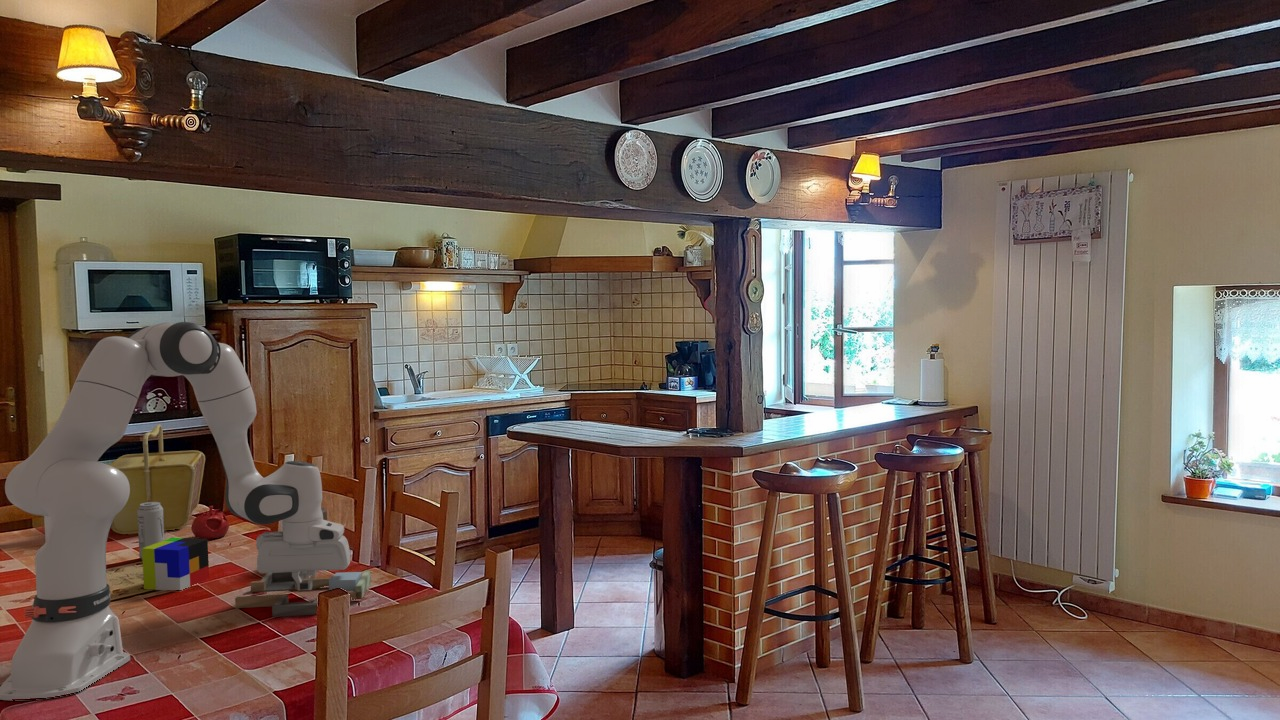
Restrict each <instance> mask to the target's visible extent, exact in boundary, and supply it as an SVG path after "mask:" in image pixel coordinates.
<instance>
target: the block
mask: <svg viewBox="0 0 1280 720" xmlns="http://www.w3.org/2000/svg"><path fill="white" fill-rule="evenodd" d="M362 575H363V572H362V571H347V572H345V571H344V572H335V573H334V574H333V576H331V577H332V578H331V579H330V580H329V588H328V591H329V590H332V589H335V588H342V589H344V590H346V591H354V590H356V585H357V583H358V582H359V580H360V578H361V576H362Z"/></svg>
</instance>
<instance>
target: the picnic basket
mask: <svg viewBox="0 0 1280 720" xmlns="http://www.w3.org/2000/svg"><path fill="white" fill-rule="evenodd" d="M163 433H164V432H163V426H162V424H156V425H155V426H154V428H153V429H152V430H151V431H147V432H146V433H144V434H143V436H142V437H143V438H142V448H143V452H142V453H131V454H128V453H127V454H124V455H122V456H119V457H118V458H117V459H115V461H113V462H111V463H110V464H108V465H109V466H112V467H114V468H116V469H118V470H120V471H121V472H123V473H124V474H125V476H126V477H127V479H128V481H129V485H130V494H129V498H128V501H127V503H126V505H125V506H124V507H123V509H122V510H121V511H120V512H119V513H118V514H117V515H116V516H115V517H114V519H113V521H112V524H111V527H110V529H111V530H112V531H113V532H114V533H117V534H120V535H126V534H128V535H137V534H138V515H137V511H138V509H139V507H140V504H142V503H146V502H160V505H161V506H162V508H163V519H164V532H167V531H166V530H173V531H176V530H175V529H178V530H180V529H183V528H184V527H185V526H186V525H187V524H188V523H189V519H190V516H191V514H192V513H193V511H195V509H197V507H198V505H199V502H200V495H201V490H202V484H203V483H202V482H203V477H204V470H205V463H206V455H205V454H204V453H203V452H202V451H199V450H179V451H164V437H163V436H164V434H163ZM157 436H158V452H149V443H148V441H149V438H150V439H152V438H156V437H157Z"/></svg>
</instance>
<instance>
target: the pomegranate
mask: <svg viewBox="0 0 1280 720" xmlns="http://www.w3.org/2000/svg"><path fill="white" fill-rule="evenodd" d="M213 508H214V506H213V505H209V506H208V509H209V511H207V510H203V511H199V512H198V513H197V516H196V517H195V518H194V519H193V521H192V524H191V532H192V533H193V536H195V538H196V539H211V540H215V539H214V538H217V539H219V538H221V537H224V536H225V535H227V533H228V531H229V528H230V522H229V520H228V518H227V517H226V515H225V512H223V511H221V510H220V509H219V508H218V509H217V508H216V509H213ZM216 511H217V512H216ZM200 513H202V514H201V515H198V514H200Z"/></svg>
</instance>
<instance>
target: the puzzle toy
mask: <svg viewBox="0 0 1280 720" xmlns="http://www.w3.org/2000/svg"><path fill="white" fill-rule="evenodd" d="M208 541H209V540H208V539H199V538H196V537H195V538H191V537H190V538H189V537H173V536H172V537H169V538H167V539H164V541H161V542H158V543H155V544H153V545H150V546H147V547H144V548H142V559H143V561H142V576H143V589H144V590H150V589H155V590H154V591H166V590H182V591H184V590H183V589H185V588H187V589H189V588H191V587H193V586H192V585H194V584H196V585H198V584H200V583H202V582H205V581H207V580H209V579H210V568H209V566H210V564H209V563H210V561H209V544H208ZM142 559H141V560H142ZM208 578H209V579H208ZM206 579H207V580H206ZM204 580H205V581H204ZM201 581H202V582H201ZM199 582H200V583H199ZM197 583H198V584H197ZM190 586H191V587H190ZM194 586H195V585H194ZM188 587H189V588H188ZM185 590H186V589H185Z"/></svg>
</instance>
